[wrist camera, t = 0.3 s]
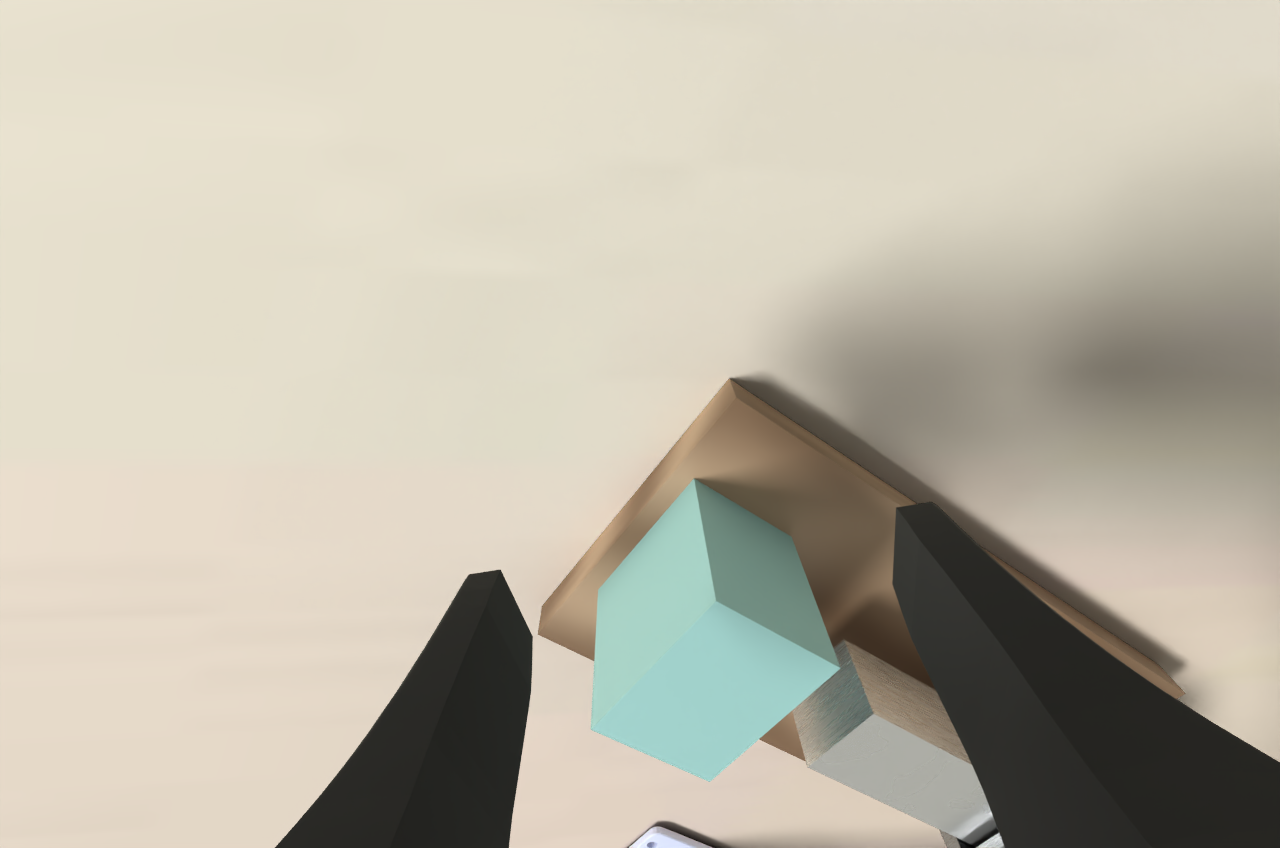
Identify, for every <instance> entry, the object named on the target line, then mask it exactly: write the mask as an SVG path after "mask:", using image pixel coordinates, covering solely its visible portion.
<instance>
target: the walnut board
mask: <svg viewBox="0 0 1280 848" xmlns="http://www.w3.org/2000/svg"><path fill="white" fill-rule="evenodd" d="M693 479H696V480H698V481H699V482H701V483H703V484H704V485H706V486H708V487H709V488H711V489H713V490H714V491H716V492H718V493H719V494H721V495H723V496H724V497H726V498H728V499H729V500H731V501H733V502H734V503H736V504H738V505H739V506H741V507H743V508H744V509H746V510H748V511H749V512H751V513H753V514H754V515H756V516H758V517H759V518H761V519H763V520H764V521H766V522H768V523H769V524H771V525H773V526H774V527H776V528H778V529H779V530H781V531H783V532H784V533H786V534H788V535H789V536H791V537H792V539H793V542H794V545H795V547H796V550H797V553H798V555H799V558H800V561H801V563H802V566H803V569H804V571H805V574H806V577H807V579H808V582H809V585H810V587H811V590H812V593H813V595H814V598H815V601H816V604H817V606H818V609H819V612H820V614H821V617H822V620H823V622H824V625H825V628H826V630H827V633H828V636H829V638H830V641H831V644H832V646H833V648H834V647H835V646H837V645H838V644H839V643H840V642H841V641H842V640H843V639H844V640H846V641H848V642H850V643H852V644H853V645H855V646H857V647H859V648H861V649H862V650H864V651H866V652H868V653H870V654H871V655H873V656H875V657H877V658H879V659H880V660H882V661H884V662H886V663H888V664H889V665H891V666H893V667H895V668H896V669H898V670H900V671H902V672H904V673H905V674H907V675H909V676H911V677H913V678H914V679H916V680H918V681H920V682H922V683H923V684H925V685H927V686H929V687H931V688H932V689H934V690H936V689H935V687H934V685H933V683H932V681H931V679H930V677H929V675H928V673H927V671H926V668H925V666H924V664H923V662H922V660H921V658H920V656H919V654H918V652H917V650H916V647H915V645H914V643H913V641H912V639H911V636H910V634H909V631H908V628H907V625H906V622H905V620H904V617H903V614H902V611H901V608H900V605H899V602H898V599H897V596H896V593H895V590H894V588H893V585H892V580H893V560H894V539H895V519H896V507H902V506H909V505H915V504H917V503H915V502H914V501H912V500H911V499H909V498H908V497H906V496H905V495H903V494H902V493H900V492H899V491H897V490H896V489H894V488H893V487H891V486H890V485H888V484H887V483H885V482H884V481H882V480H881V479H879V478H878V477H876V476H875V475H873V474H872V473H870V472H869V471H867V470H866V469H864V468H863V467H861V466H860V465H858V464H857V463H855V462H854V461H852V460H851V459H849V458H848V457H846V456H845V455H843V454H842V453H840V452H839V451H837V450H836V449H834V448H833V447H831V446H830V445H828V444H827V443H825V442H824V441H822V440H821V439H819V438H818V437H816V436H815V435H813V434H812V433H810V432H809V431H807V430H806V429H804V428H803V427H801V426H800V425H798V424H797V423H795V422H794V421H792V420H791V419H789V418H788V417H786V416H785V415H783V414H782V413H780V412H779V411H777V410H776V409H774V408H773V407H771V406H770V405H768V404H767V403H765V402H764V401H762V400H761V399H759V398H758V397H756V396H755V395H753V394H752V393H750V392H749V391H747V390H746V389H744V388H743V387H741V386H740V385H738V384H737V383H735V382H734V381H732V380H731V379H728V381H727V382H726V383H725V384H724V386H723V387H722V388H721V389H720V390H719V392H718V393H717V394H716V395H715V396H714V398H713V399H712V400H711V401H710V403H709V404H708V405H707V406H706V407H705V409H704V410H703V411H702V412H701V414H700V415H699V416H698V417H697V418H696V420H695V421H694V422H693V423H692V424H691V426H690V427H689V428H688V429H687V431H686V432H685V433H684V434H683V435H682V437H681V438H680V439H679V440H678V442H677V443H676V444H675V445H674V446H673V448H672V449H671V450H670V451H669V452H668V454H667V455H666V456H665V457H664V459H663V460H662V461H661V462H660V463H659V465H658V466H657V467H656V468H655V469H654V471H653V472H652V473H651V474H650V476H649V477H648V478H647V479H646V480H645V482H644V483H643V484H642V485H641V487H640V488H639V489H638V490H637V491H636V493H635V494H634V495H633V496H632V497H631V499H630V500H629V501H628V502H627V504H626V505H625V506H624V507H623V508H622V510H621V511H620V512H619V513H618V515H617V516H616V517H615V518H614V519H613V521H612V522H611V523H610V524H609V525H608V527H607V528H606V529H605V530H604V532H603V533H602V534H601V535H600V536H599V538H598V539H597V540H596V541H595V543H594V544H593V545H592V546H591V547H590V549H589V550H588V551H587V552H586V553H585V555H584V556H583V557H582V558H581V560H580V561H579V562H578V563H577V564H576V566H575V567H574V568H573V569H572V571H571V572H570V573H569V574H568V575H567V577H566V578H565V579H564V580H563V581H562V583H561V584H560V585H559V586H558V588H557V589H556V590H555V591H554V592H553V594H552V595H551V596H550V597H549V599H548V600H547V601H546V602H545V603H544V605H543V606H542V611H541V617H540V623H539V630H538V635H540V636H542V637H545V638H547V639H549V640H551V641H553V642H555V643H557V644H559V645H561V646H564V647H566V648H568V649H570V650H572V651H574V652H576V653H578V654H580V655H583V656H585V657H587V658H589V659H591V660H593V661H594V659H595V640H596V621H597V601H598V589H599V588H600V587H601V586H602V585H603V584H604V582H605V581H606V580H607V579H608V578H609V577H610V575H611V574H612V573H613V572H614V571H615V570H616V568H617V567H618V566H619V565H620V564H621V563H622V562H623V560H624V559H625V558H626V557H627V556H628V555H629V553H630V552H631V551H632V550H633V549H634V548H635V546H636V545H637V544H638V543H639V542H640V541H641V539H642V538H643V537H644V536H645V535H646V534H647V532H648V531H649V530H650V529H651V528H652V527H653V525H654V524H655V523H656V522H657V521H658V520H659V518H660V517H661V516H662V515H663V514H664V513H665V511H666V510H667V509H668V508H669V507H670V506H671V504H672V503H673V502H674V501H675V500H676V499H677V497H678V496H679V495H680V494H681V493H682V492H683V491H684V489H685V488H686V487H687V486H688V485H689V484H690V482H691V481H692V480H693ZM979 546H980V545H979ZM980 547H981V546H980ZM982 548H983V547H982ZM983 549H984V548H983ZM984 550H985V551H986V552H987V553H988V554H989V555H990V556H991V557H992V558H994V559H995V560H996V561H997V562H998V563H999V564H1000V565H1001V566H1003V567H1004V568H1005V569H1006V570H1007V571H1008V572H1009V573H1010V574H1012V575H1013V576H1014V577H1015V578H1016V579H1018V580H1019V581H1020V582H1021V583H1022V584H1023V585H1025V586H1026V587H1027V588H1028V589H1029V590H1030V591H1032V592H1033V593H1034V594H1035V595H1036V596H1038V597H1039V598H1040V599H1041V600H1042V601H1043V602H1045V603H1046V604H1047V605H1048V606H1050V607H1051V608H1052V609H1053V610H1055V611H1056V612H1057V613H1058V614H1059V615H1061V616H1062V617H1063V618H1064V619H1066V620H1067V621H1068V622H1070V623H1071V624H1072V625H1073V626H1075V627H1076V628H1077V629H1079V630H1080V631H1081V632H1082V633H1084V634H1085V635H1086V636H1088V637H1089V638H1090V639H1092V640H1093V641H1094V642H1095V643H1097V644H1098V645H1100V646H1101V647H1102V648H1104V649H1105V650H1106V651H1108V652H1109V653H1110V654H1112V655H1113V656H1114V657H1116V658H1117V659H1119V660H1120V661H1121V662H1123V663H1124V664H1126V665H1127V666H1128V667H1130V668H1131V669H1133V670H1134V671H1136V672H1137V673H1138V674H1140V675H1141V676H1143V677H1144V678H1146V679H1147V680H1149V681H1150V682H1151V683H1153V684H1154V685H1156V686H1157V687H1159V688H1160V689H1162V690H1163V691H1165V692H1166V693H1168V694H1169V695H1171V696H1172V697H1174V698H1175V699H1178V698H1179V697H1181V696H1182V695H1184V694H1185V693H1184V692H1183V690H1182V689H1181V688H1180V687H1179V686H1178V685H1177V684H1176V683H1175V682H1174V681H1173V680H1172V679H1171V678H1170V676H1169V675H1168V674H1167V673H1166V672H1165V671H1164V670H1163V669H1162V668H1161V667H1160V666H1159V665H1158V664H1157V663H1155V662H1154V661H1152V660H1151V659H1149V658H1148V657H1146V656H1145V655H1143V654H1142V653H1140V652H1139V651H1137V650H1136V649H1134V648H1133V647H1131V646H1130V645H1128V644H1127V643H1125V642H1124V641H1122V640H1121V639H1119V638H1118V637H1116V636H1115V635H1113V634H1112V633H1110V632H1109V631H1107V630H1106V629H1104V628H1103V627H1101V626H1100V625H1098V624H1097V623H1095V622H1094V621H1092V620H1091V619H1089V618H1088V617H1086V616H1085V615H1083V614H1082V613H1080V612H1079V611H1077V610H1076V609H1074V608H1073V607H1071V606H1070V605H1068V604H1067V603H1065V602H1064V601H1062V600H1061V599H1059V598H1058V597H1056V596H1055V595H1053V594H1052V593H1050V592H1049V591H1047V590H1046V589H1044V588H1043V587H1041V586H1040V585H1038V584H1037V583H1035V582H1034V581H1032V580H1031V579H1029V578H1028V577H1026V576H1025V575H1023V574H1022V573H1020V572H1019V571H1017V570H1016V569H1014V568H1013V567H1011V566H1010V565H1008V564H1007V563H1005V562H1004V561H1002V560H1001V559H999V558H998V557H996V556H995V555H993V554H992V553H990V552H989V551H987V550H986V549H984ZM760 740H762V741H764V742H766V743H768V744H770V745H772V746H774V747H776V748H779V749H781V750H783V751H785V752H787V753H789V754H791V755H793V756H795V757H798V758H800V759H802V760H804V761H806V760H805V756H804V752H803V749H802V745H801V741H800V738H799V734H798V730H797V726H796V723H795V719H794V715H793V712H792V711H791V712H790V713H789V714H787V715H786V716H785V717H784V718H783V719H782V720H780V721H779V722H778V723H777V724H776V725H775V726H774V727H772V728H771V729H770V730H769V731H768V732H767V733H765V734H764V735H763V736H762V737H761V738H760Z"/></svg>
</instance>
